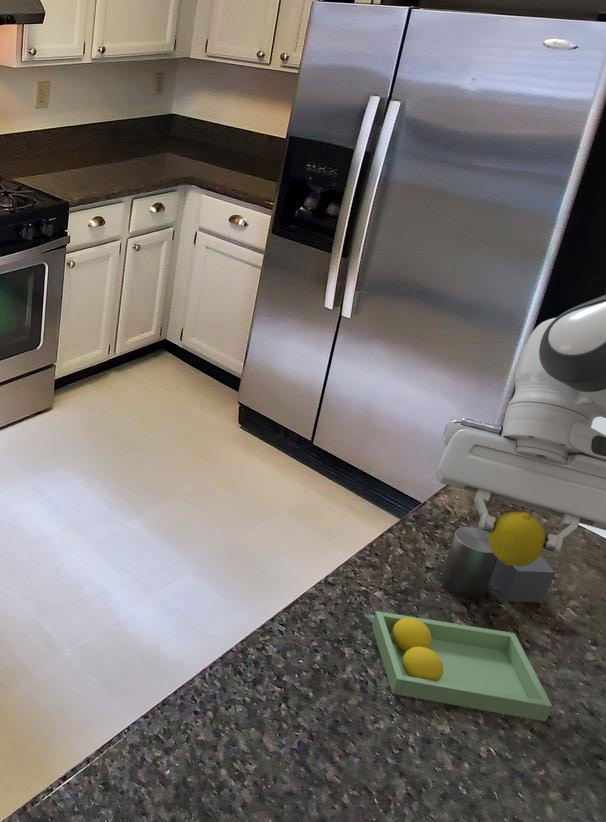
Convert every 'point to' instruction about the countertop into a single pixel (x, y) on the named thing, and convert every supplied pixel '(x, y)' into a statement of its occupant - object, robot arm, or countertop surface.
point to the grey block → (523, 581)
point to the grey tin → (469, 564)
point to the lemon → (517, 539)
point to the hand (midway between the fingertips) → (517, 540)
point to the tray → (467, 669)
